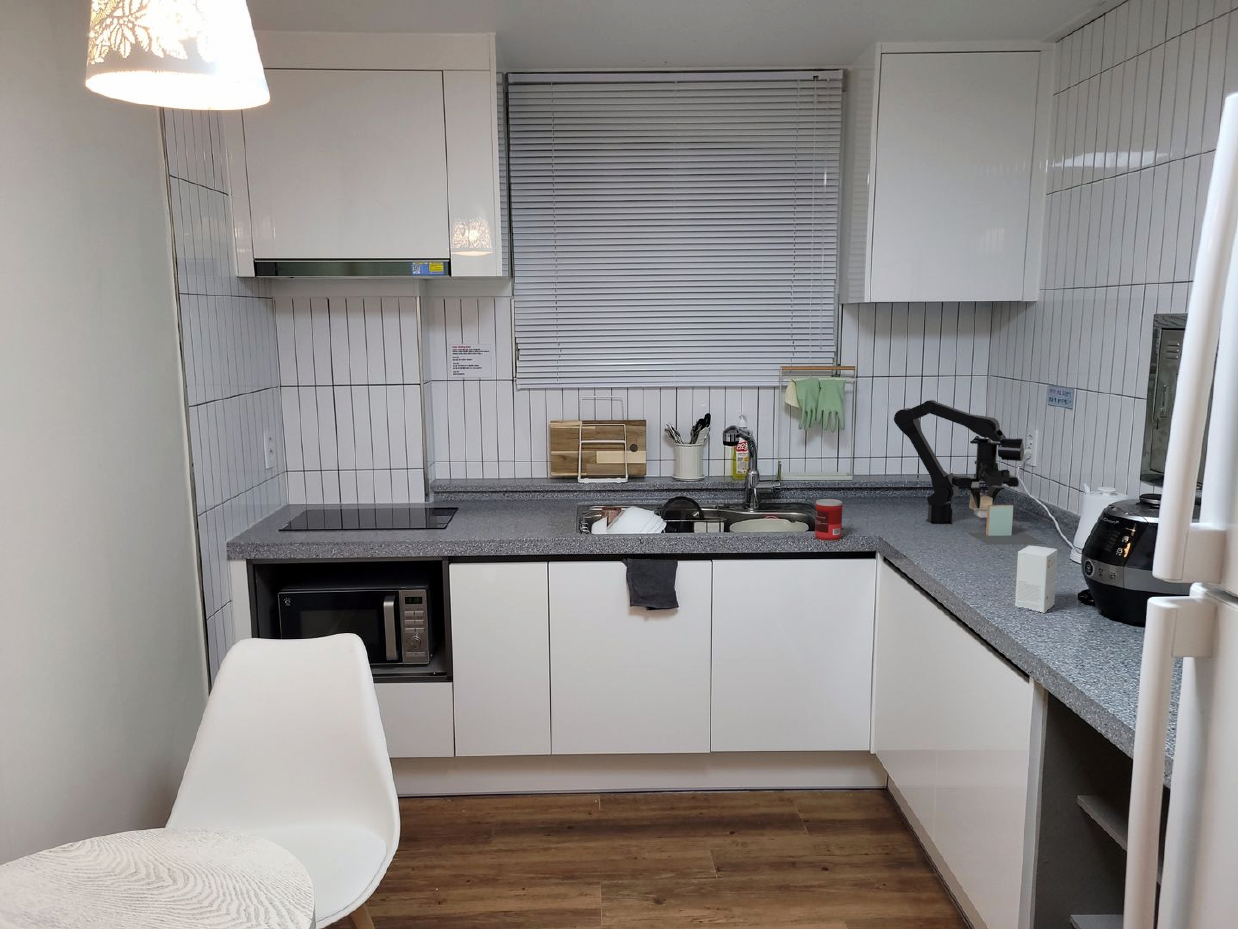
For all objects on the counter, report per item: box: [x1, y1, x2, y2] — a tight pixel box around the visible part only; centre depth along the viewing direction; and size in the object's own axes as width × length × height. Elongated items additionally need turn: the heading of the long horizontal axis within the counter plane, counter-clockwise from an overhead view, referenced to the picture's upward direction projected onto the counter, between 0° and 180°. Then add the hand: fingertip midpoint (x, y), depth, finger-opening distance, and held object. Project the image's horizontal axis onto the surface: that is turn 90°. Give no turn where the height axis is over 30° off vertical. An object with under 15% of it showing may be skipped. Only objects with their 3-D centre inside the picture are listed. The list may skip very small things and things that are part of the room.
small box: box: [1014, 544, 1058, 614], centre depth 202 cm, size 8×6×13 cm
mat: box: [967, 531, 1047, 546], centre depth 268 cm, size 17×15×1 cm
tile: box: [985, 504, 1014, 536], centre depth 271 cm, size 7×2×9 cm, turn 90°
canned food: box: [814, 498, 843, 541], centre depth 271 cm, size 8×8×11 cm
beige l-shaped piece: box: [968, 492, 993, 518], centre depth 283 cm, size 15×8×5 cm, turn 1°
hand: (983, 508), depth 283 cm, fingers closed on beige l-shaped piece, 3 cm apart
